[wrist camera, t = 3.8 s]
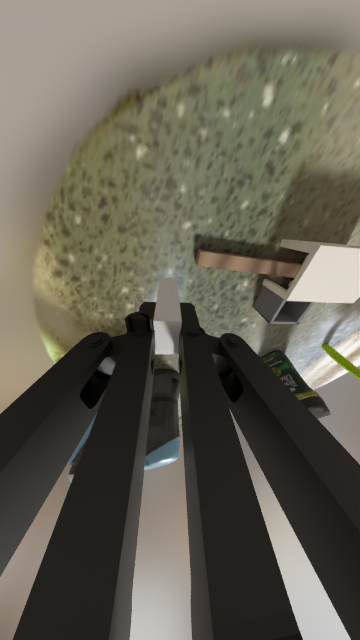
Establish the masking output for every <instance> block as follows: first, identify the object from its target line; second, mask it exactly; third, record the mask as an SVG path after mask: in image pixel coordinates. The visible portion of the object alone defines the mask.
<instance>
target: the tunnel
mask: <svg viewBox="0 0 360 640" xmlns="http://www.w3.org/2000/svg"><path fill="white" fill-rule="evenodd" d="M280 246H281V247H285V248H289V249H293V250H298V251H302V252H306V253H309V255H308V256H307V258H306V260H305V262H304V263H303V265H302V267H301V268H300V270H299V272H298V273H297V275H296V277H295V278H294V280H291V281H290V282H289V284H288V286H286V285H277V284H276V283H274V282H272V281H271V280H269V279H264V281H263V283H262V284H263V286H262V288H261V291H260V293H259V295H258V297H257V299H256V301H255V303H254V306H253V308H254V309H255V310H256V311H257V312H258V313H259V314H260V315H261V316H262V317H263V318H264V319H265V320H266V321H267V322H268V323H269V324H298V323H299V322H300V320H301V319H302V318H303V316H304V315H305V314H306V313H307V311H308V310H309V309H310V307H311V306H312V305H313V304H314V302H329V303H354V302H355V301H356V300H357V299H358V298H359V297H360V246H353V245H345V244H334V243H322V242H311V241H299V240H288V239H282V241H281V243H280Z"/></svg>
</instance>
